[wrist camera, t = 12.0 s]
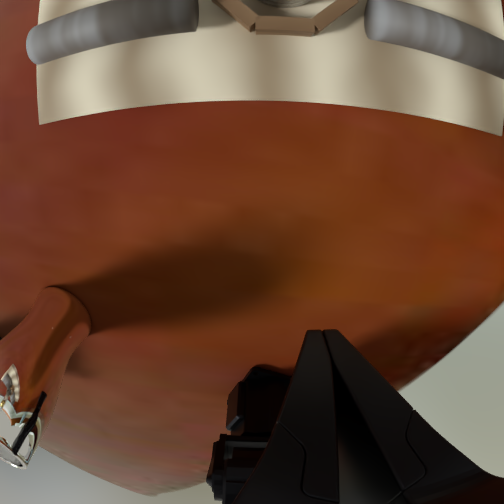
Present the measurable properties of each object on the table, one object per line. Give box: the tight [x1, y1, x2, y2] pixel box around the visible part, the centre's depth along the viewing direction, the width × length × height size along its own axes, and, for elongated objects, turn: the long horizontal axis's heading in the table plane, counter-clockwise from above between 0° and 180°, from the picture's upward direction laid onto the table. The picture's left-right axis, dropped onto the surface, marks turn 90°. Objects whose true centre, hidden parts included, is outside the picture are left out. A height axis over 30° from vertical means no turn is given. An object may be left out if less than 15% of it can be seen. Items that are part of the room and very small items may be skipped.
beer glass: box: [0, 287, 91, 470], centre depth 19 cm, size 7×7×15 cm
